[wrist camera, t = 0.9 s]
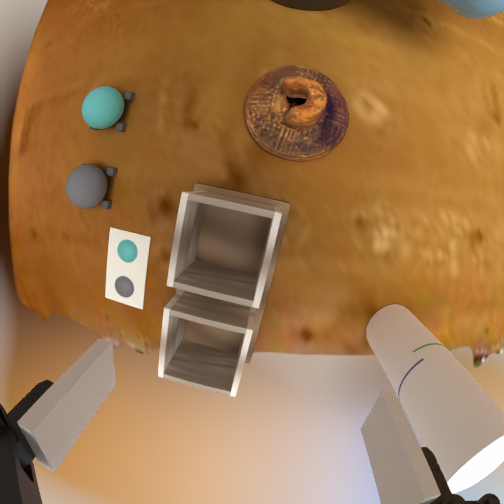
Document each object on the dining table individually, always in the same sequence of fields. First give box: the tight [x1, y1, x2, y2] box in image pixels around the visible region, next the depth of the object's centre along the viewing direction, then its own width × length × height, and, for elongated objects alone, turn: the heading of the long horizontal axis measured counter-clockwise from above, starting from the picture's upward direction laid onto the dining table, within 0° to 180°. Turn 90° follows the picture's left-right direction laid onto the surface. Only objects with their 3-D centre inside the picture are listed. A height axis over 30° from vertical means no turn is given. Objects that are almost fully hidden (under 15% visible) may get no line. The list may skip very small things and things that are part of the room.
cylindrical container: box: [366, 304, 504, 494], centre depth 23 cm, size 7×7×25 cm
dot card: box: [105, 227, 151, 309], centre depth 36 cm, size 10×6×1 cm, turn 167°
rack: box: [158, 183, 291, 397], centre depth 31 cm, size 21×11×9 cm, turn 167°
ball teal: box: [82, 86, 124, 129], centre depth 29 cm, size 6×6×6 cm
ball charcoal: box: [66, 164, 107, 209], centre depth 31 cm, size 6×6×6 cm
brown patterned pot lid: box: [244, 66, 349, 161], centre depth 27 cm, size 12×12×7 cm
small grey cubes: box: [82, 92, 135, 209], centre depth 32 cm, size 15×5×1 cm, turn 167°
